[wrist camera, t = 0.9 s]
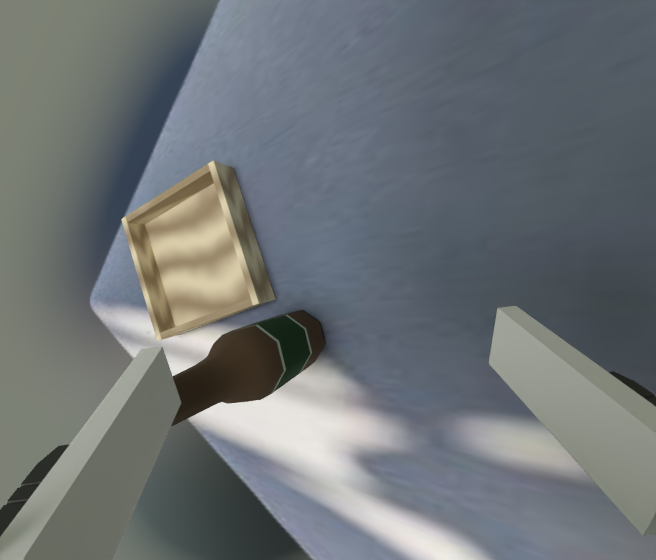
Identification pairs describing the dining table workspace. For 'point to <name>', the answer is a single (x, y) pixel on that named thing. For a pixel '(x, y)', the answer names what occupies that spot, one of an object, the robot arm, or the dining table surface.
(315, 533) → the dining table surface
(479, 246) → the dining table surface
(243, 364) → the beer bottle
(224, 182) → the oak tray
